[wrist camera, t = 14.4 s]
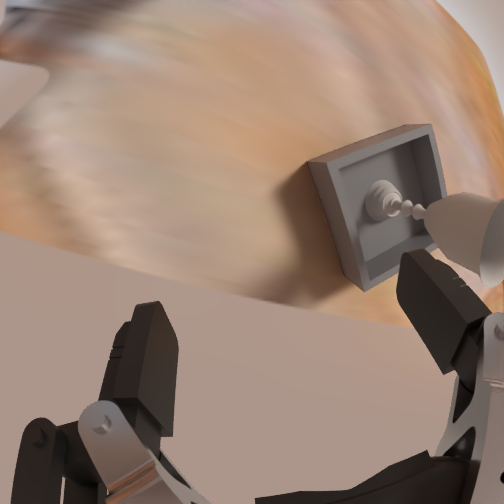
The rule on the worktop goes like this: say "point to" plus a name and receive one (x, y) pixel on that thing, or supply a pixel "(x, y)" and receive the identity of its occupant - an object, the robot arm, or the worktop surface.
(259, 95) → the worktop surface
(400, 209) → the chalice
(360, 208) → the box
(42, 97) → the worktop surface
